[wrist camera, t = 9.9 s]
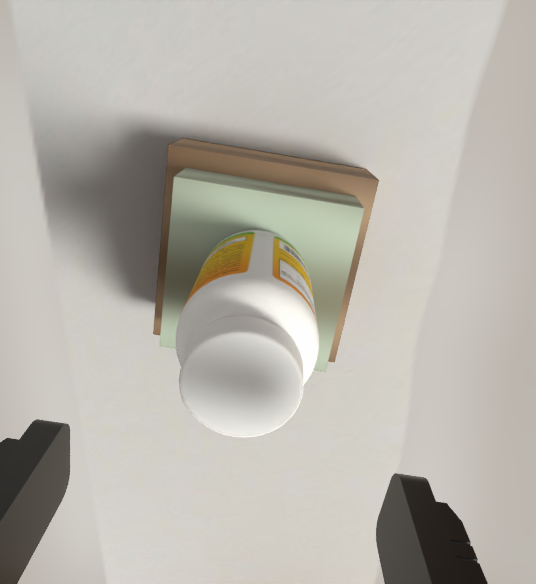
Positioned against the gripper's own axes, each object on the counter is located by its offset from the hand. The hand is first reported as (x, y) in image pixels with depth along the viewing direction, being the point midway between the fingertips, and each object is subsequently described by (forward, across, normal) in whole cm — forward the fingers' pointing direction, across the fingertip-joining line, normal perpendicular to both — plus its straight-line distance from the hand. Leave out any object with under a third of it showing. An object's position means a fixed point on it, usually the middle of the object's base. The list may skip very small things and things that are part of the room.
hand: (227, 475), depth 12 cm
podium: (+20, 0, 0) cm, 20 cm away
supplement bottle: (+14, 0, 0) cm, 14 cm away
